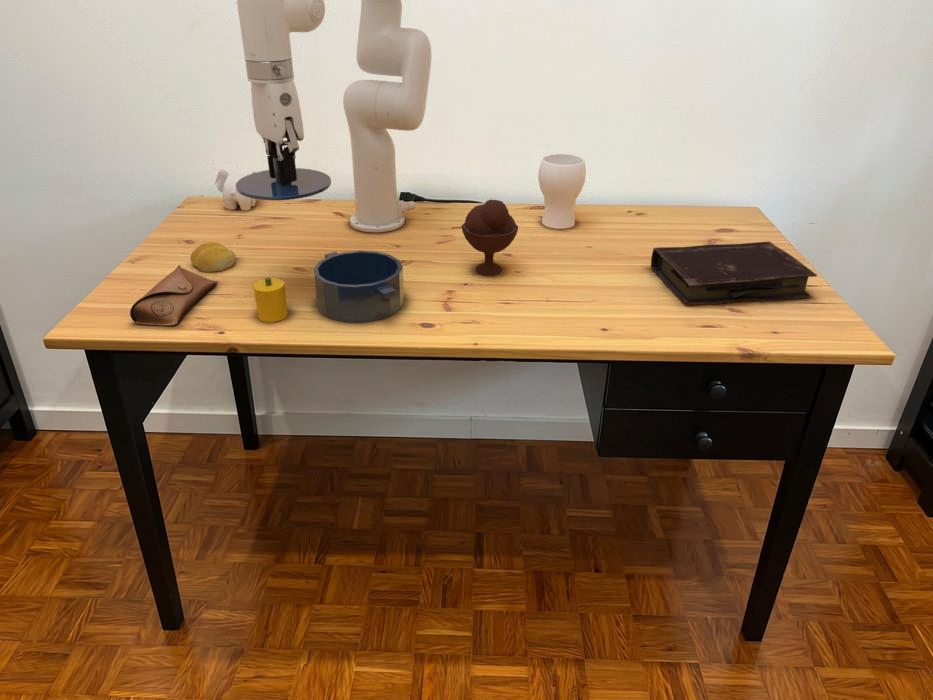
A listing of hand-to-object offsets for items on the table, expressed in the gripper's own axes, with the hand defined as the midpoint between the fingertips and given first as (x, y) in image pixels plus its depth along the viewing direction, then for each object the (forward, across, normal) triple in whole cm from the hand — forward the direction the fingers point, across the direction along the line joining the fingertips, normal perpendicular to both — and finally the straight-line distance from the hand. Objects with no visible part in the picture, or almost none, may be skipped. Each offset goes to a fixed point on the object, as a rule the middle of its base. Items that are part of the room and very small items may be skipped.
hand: (283, 178), depth 129 cm
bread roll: (+21, +19, +9) cm, 30 cm away
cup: (+21, -6, -64) cm, 68 cm away
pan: (+21, -14, -6) cm, 26 cm away
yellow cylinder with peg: (+21, -9, +9) cm, 24 cm away
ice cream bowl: (+21, -17, -34) cm, 44 cm away
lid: (+1, 0, 0) cm, 1 cm away
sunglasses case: (+21, +6, +21) cm, 30 cm away
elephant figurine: (+21, +49, -10) cm, 54 cm away
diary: (+21, -50, -67) cm, 87 cm away
